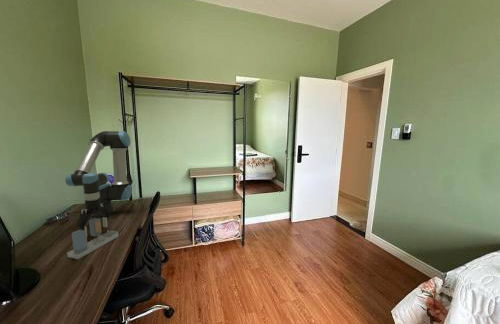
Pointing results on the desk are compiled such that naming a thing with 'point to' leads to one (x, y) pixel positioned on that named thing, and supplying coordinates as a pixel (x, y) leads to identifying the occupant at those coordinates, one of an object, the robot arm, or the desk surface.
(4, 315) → the desk surface
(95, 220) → the grey orange block
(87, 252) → the rail
